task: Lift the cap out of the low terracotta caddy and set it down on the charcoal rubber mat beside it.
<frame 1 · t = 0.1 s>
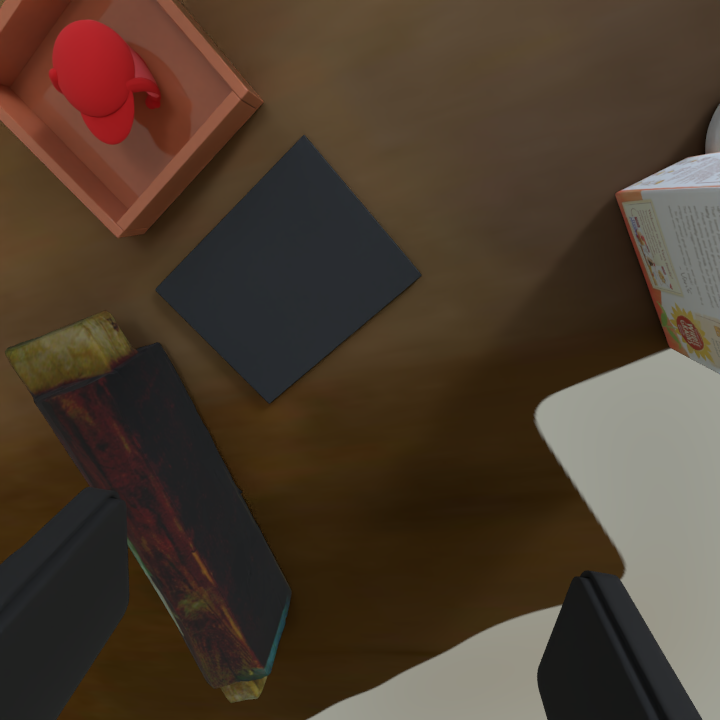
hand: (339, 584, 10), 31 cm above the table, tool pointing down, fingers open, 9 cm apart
packaged item: (195, 489, 47), on the table
mat: (285, 281, 39), on the table
cracker box: (677, 255, 37), on the table
cap: (129, 94, 35), resting in caddy
caddy: (130, 94, 35), on the table
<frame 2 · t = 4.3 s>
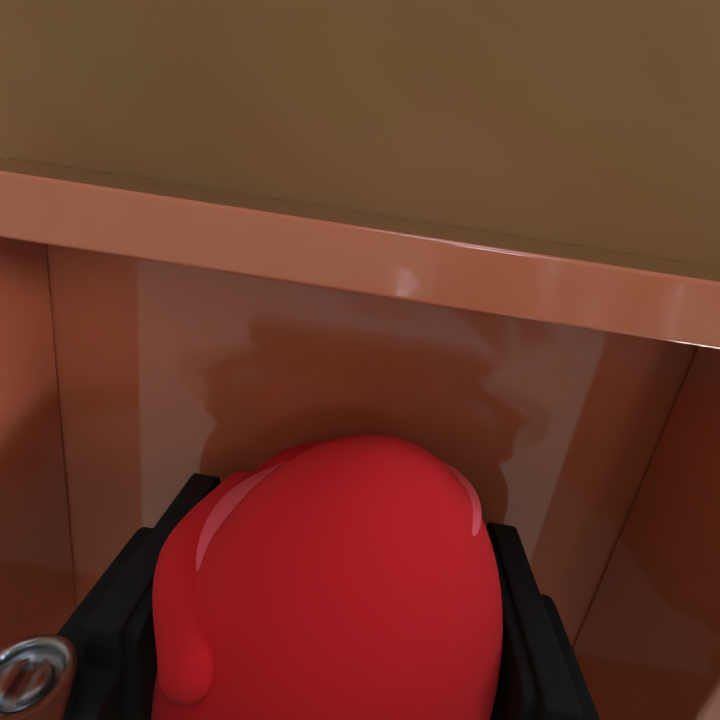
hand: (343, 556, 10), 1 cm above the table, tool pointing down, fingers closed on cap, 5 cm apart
cap: (333, 524, 11), resting in caddy, touching gripper
caddy: (334, 519, 12), on the table
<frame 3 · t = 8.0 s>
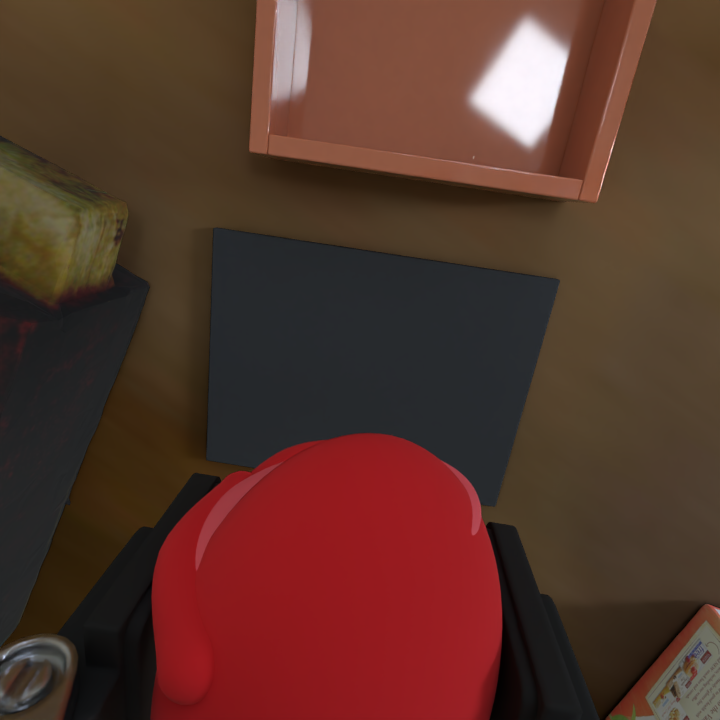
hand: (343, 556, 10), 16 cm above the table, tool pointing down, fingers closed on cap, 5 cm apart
packaged item: (11, 450, 30), on the table
mat: (366, 376, 27), on the table
cracker box: (679, 678, 33), on the table
cap: (333, 524, 11), point 15 cm above the table, touching gripper
caddy: (447, 4, 20), on the table
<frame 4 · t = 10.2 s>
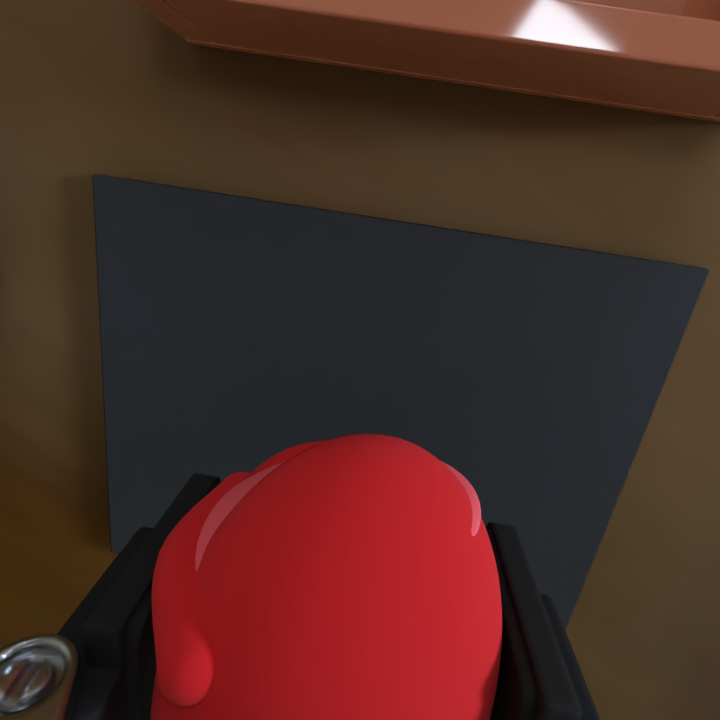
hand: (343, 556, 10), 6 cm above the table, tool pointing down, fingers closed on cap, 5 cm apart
mat: (362, 428, 16), on the table
cap: (333, 524, 11), point 5 cm above the table, touching gripper
when the fingers open (1 cm above the table, at t = 11.9 s): cap stays where it is, resting on mat.
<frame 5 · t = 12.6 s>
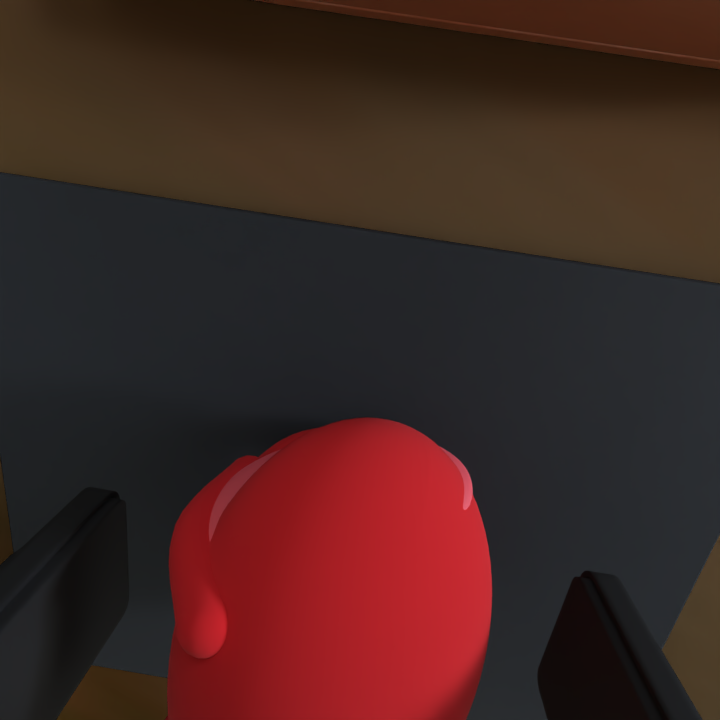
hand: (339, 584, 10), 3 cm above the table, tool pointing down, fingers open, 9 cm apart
mat: (347, 506, 12), on the table
cap: (335, 508, 12), resting on mat
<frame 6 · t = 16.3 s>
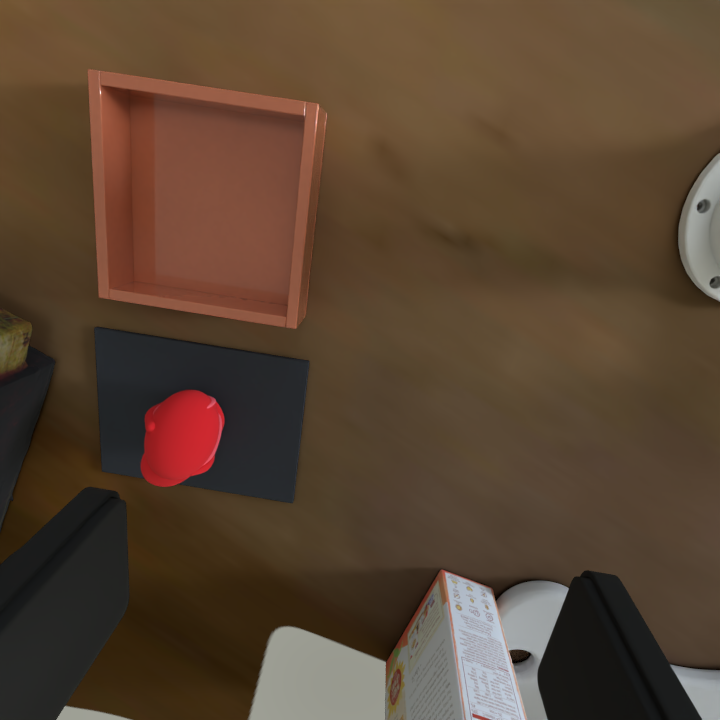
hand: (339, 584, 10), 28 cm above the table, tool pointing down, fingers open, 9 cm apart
mat: (200, 418, 41), on the table
holder: (622, 685, 48), on the table
cracker box: (438, 623, 47), on the table
cap: (196, 418, 41), resting on mat
caddy: (219, 207, 35), on the table
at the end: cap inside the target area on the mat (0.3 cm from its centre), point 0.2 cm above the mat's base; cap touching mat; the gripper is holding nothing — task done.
